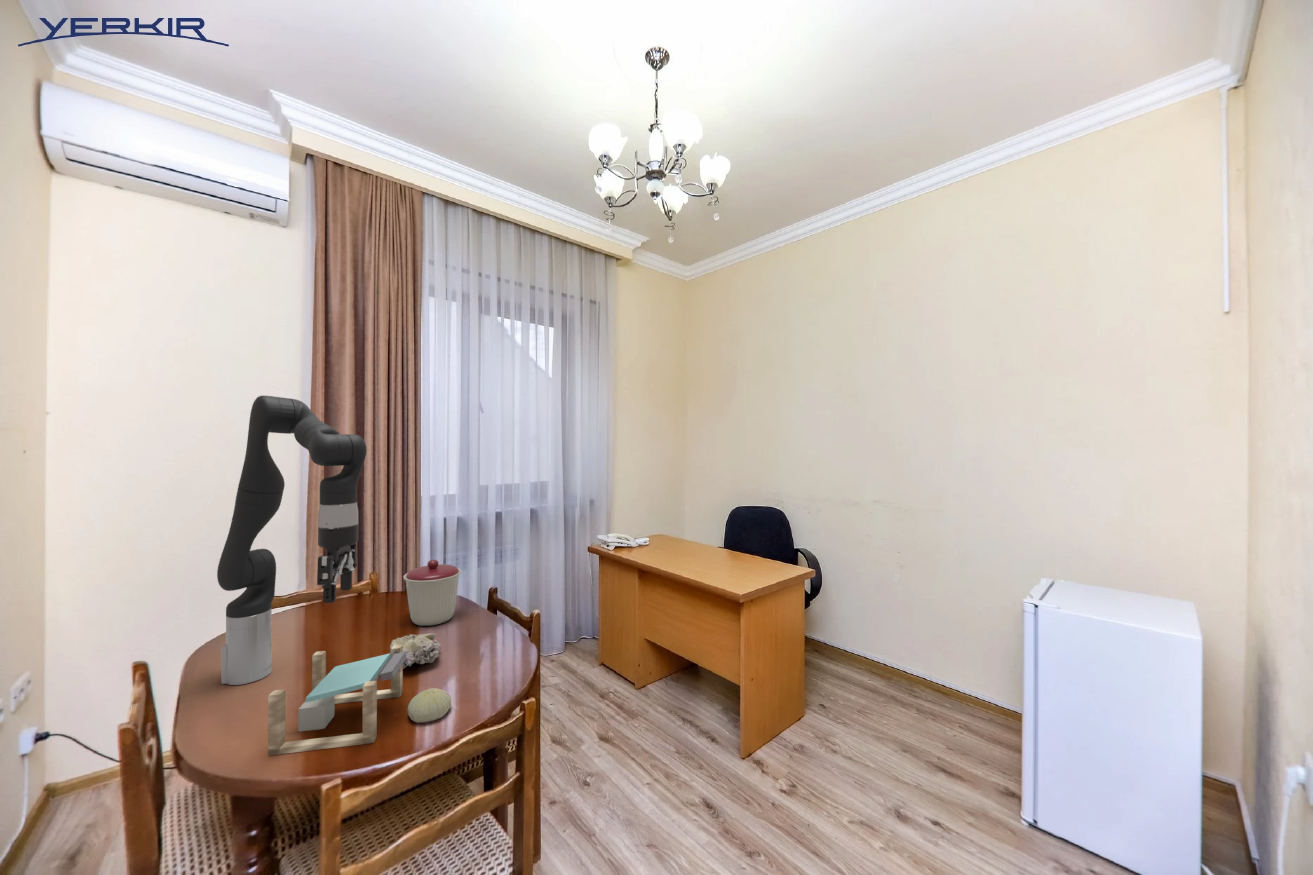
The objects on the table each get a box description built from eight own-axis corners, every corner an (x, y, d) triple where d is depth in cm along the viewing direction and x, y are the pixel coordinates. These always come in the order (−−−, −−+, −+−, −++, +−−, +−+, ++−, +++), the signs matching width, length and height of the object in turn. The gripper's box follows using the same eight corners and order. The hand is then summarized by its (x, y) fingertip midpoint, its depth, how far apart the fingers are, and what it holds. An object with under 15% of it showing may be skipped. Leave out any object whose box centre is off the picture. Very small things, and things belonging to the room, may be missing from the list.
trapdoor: (409, 654, 117) (407, 647, 117) (390, 682, 103) (388, 675, 103) (336, 671, 113) (334, 665, 113) (306, 703, 100) (305, 696, 99)
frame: (268, 755, 95) (268, 695, 95) (316, 701, 115) (316, 651, 115) (373, 742, 100) (373, 685, 100) (402, 692, 119) (402, 644, 119)
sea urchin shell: (405, 723, 103) (407, 684, 108) (407, 734, 108) (409, 697, 114) (451, 713, 107) (451, 676, 112) (451, 724, 112) (450, 689, 117)
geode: (421, 665, 144) (373, 678, 131) (419, 633, 147) (371, 642, 134) (460, 655, 138) (413, 667, 125) (457, 621, 141) (411, 630, 128)
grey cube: (324, 728, 104) (298, 731, 103) (334, 715, 109) (309, 718, 108) (324, 706, 104) (298, 708, 103) (334, 694, 109) (309, 696, 108)
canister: (468, 621, 165) (468, 560, 165) (411, 635, 153) (411, 570, 153) (450, 607, 179) (451, 551, 179) (397, 619, 167) (397, 559, 167)
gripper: (333, 518, 113) (333, 587, 113) (303, 530, 99) (303, 608, 99) (368, 517, 115) (368, 585, 115) (343, 528, 101) (343, 605, 101)
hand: (338, 595), depth 107 cm, fingers open, 8 cm apart
